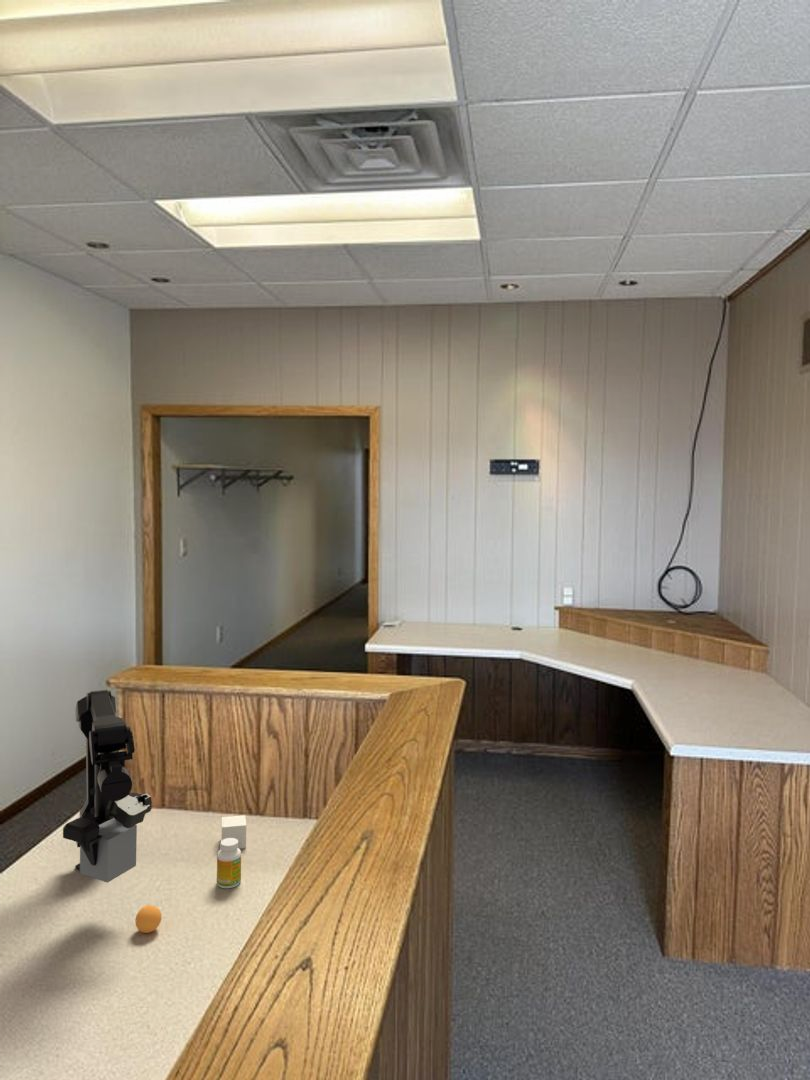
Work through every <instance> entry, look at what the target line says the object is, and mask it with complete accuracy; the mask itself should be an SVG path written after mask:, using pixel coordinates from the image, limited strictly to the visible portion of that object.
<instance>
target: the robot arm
mask: <svg viewBox="0 0 810 1080" xmlns="http://www.w3.org/2000/svg"><path fill="white" fill-rule="evenodd" d="M116 704H117V702H116V697H115V696H113V695H112V691H111V690H108V689H104V690H103V689H102V690H94V691H89V692H87V693H86V696H84V697H82V698H81V699H79V700H78V701H77V702H76V705H75V722H77V723H78V728H79V729H80V731H81V732H82V734H83V735H84V736H85V753H86V754H85V756H86V757H85V759H86V761H85V763H86V764H85V767H86V768H85V769H86V774H85V775H86V779H85V780H86V799H85V802H84V804H83V806H82V807H81V809H80V811H79V817H77V818H76V819H73V820H71V821H69V822H68V823H67V822H66V824H64V826H63V828H62V838H63V839H65V840H69V841H73V842H75V843H76V846H77V848H80V846H81V847H82V849H83V851H84V852H85V854H86V856H87V858H88V860H89V862H90V864H91V865H93V866H95V865H96V863H97V851H98V841H99V840H100V839H101V838H102V836H101V835H98V834H99V832H100V827H99V826H101V825H103V824H105V823H107V822H109V821H111V820H113V819H116V820H117V821H118V822H120V823H121V824H122V825H123V826H124V827H125V828H132V827H133V826H134V825H138V824H141V823H143V822H144V819H145V816H146V814H147V813H150V812H151V811H152V804H153V803H152V801H153V800H152V795H150V794H149V793H147V792H146V793H144V794H142V793H137V792H131V790H132V788H133V781H132V778H131V775H130V774H129V771H128V769H127V767H126V764H125V762H126V761H129V760H133V759H134V758H133V754H134V753H135V752H136V750H135V742H134V736H133V731H132V730H131V727H130V726H128V725H127V723H126V721H125V719H124V718H123V717H120V716H117V715H116V714H117V705H116ZM74 868H75V869H77V868H78V870H80V862H79V863H77V864H76V865H75V866H74Z"/></svg>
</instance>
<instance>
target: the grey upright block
mask: <svg viewBox="0 0 810 1080" xmlns="http://www.w3.org/2000/svg"><path fill="white" fill-rule="evenodd" d="M99 827H100V832H99V834H98V835H101V836H102V838H101V839H100V840H99V841H98V851H97V863H96V865H95V866H93V865H91V864H90V862H89V860H88V858H87V856H86V854H85V852H84V851H83V849H82V847H81V846H80V847H79V863H80V869H79V875H84V876H85V877H89V878H92V879H96V880H99V881H101V882H104V883H107V884H108V883H109V882H111V881H113V880H114V879H116V878H118V877H120V876H121V875H124V874H125V873H127V872H128V871H130V870H131V869H134V868H135V867H136V866H137V837H138V835H137V834H138V830H137V829H138V824H136V825H134V826H133V827H132V828H125V827H124V826H123V825H122V824H121V823H120V822H118V821H117V820H116V819H113V820H111V821H109V822H107V823H105V824H103V825H101V826H99Z"/></svg>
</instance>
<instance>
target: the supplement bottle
mask: <svg viewBox="0 0 810 1080" xmlns="http://www.w3.org/2000/svg"><path fill="white" fill-rule="evenodd" d="M219 848H220V850H218V852H217V854H216V885H217V886H218V887H219V888H221V889H232V888H235V887H237V886H239V885H240V884H241V880H242V851H241V848H240V849H239V848H238V840H237V839H235V838H226V839H223V840H222V841H220V845H219ZM239 883H240V884H239Z"/></svg>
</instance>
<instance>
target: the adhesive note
mask: <svg viewBox="0 0 810 1080" xmlns="http://www.w3.org/2000/svg"><path fill="white" fill-rule="evenodd" d="M246 817H247V816H246V815H245V814H244V815H243V814H242V815H234V816H222V817H221V838H220V839H221V841H222V840H223V839H226V838H235V839H237V840H238V848H239V849H240V850H241V849H246V848H247V821H246V820H247V819H246ZM221 841H220V842H221Z"/></svg>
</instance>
